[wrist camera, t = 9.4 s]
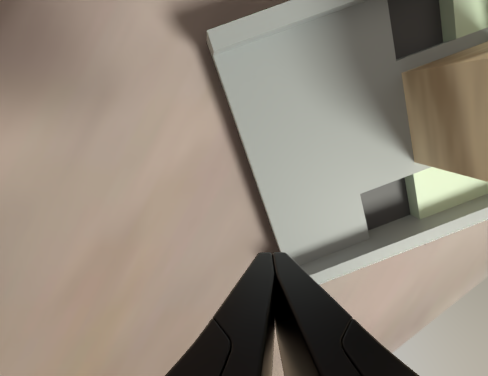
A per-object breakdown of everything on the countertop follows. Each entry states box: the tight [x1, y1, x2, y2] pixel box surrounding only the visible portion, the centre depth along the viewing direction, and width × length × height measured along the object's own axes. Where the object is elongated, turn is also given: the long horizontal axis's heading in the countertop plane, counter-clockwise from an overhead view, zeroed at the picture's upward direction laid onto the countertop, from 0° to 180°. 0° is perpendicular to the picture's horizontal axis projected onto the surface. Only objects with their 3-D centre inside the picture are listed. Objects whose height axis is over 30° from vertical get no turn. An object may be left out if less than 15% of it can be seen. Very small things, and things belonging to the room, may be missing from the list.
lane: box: [207, 0, 488, 285], centre depth 18 cm, size 18×17×3 cm
